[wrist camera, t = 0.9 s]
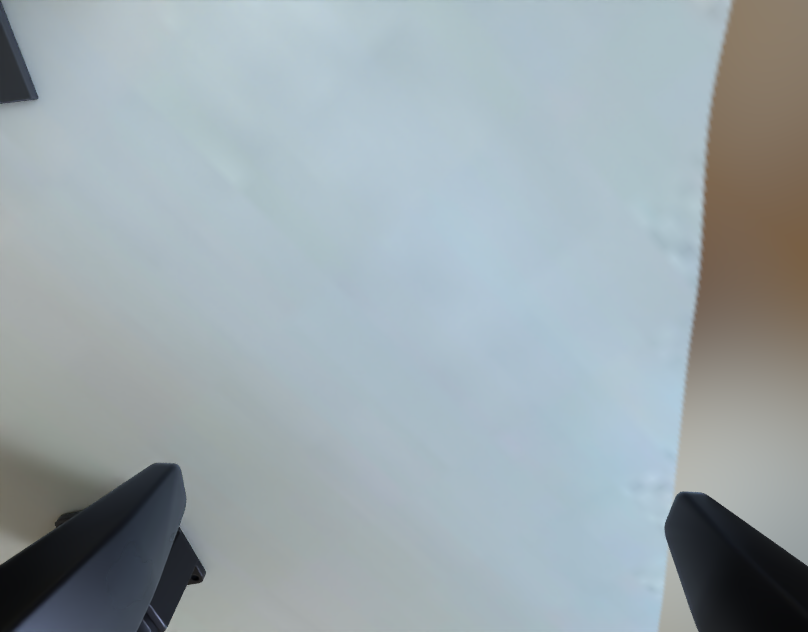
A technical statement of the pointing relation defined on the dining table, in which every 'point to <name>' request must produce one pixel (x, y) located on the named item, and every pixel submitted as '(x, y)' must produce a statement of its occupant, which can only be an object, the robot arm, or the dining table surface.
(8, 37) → the mat
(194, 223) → the dining table surface
